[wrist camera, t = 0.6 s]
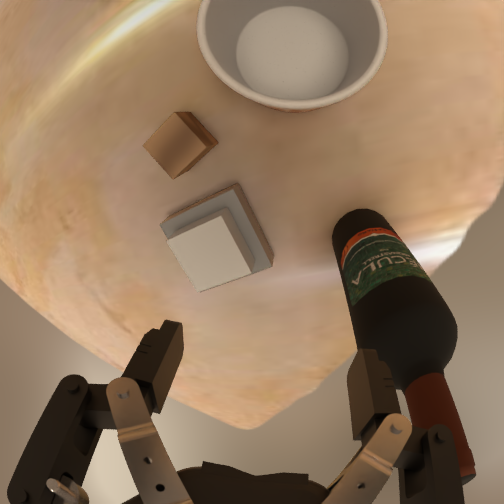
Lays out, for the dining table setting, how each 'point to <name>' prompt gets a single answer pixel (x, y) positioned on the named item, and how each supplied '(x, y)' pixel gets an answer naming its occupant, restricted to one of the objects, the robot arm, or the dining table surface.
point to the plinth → (240, 217)
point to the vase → (293, 48)
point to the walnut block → (179, 143)
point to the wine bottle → (401, 320)
